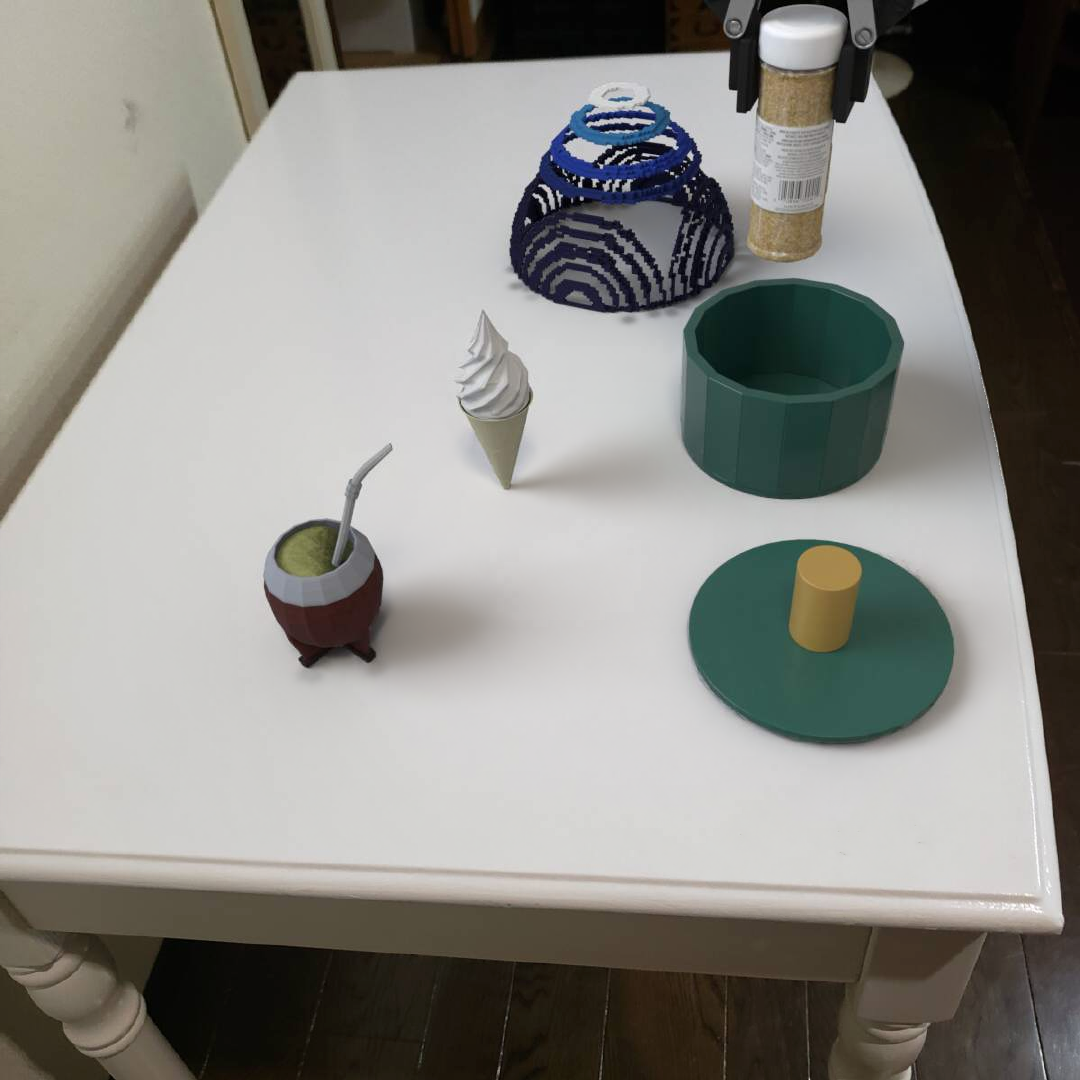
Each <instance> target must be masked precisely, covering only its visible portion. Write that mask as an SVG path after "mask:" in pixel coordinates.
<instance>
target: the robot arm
mask: <svg viewBox="0 0 1080 1080" xmlns="http://www.w3.org/2000/svg"><path fill="white" fill-rule="evenodd" d="M702 1H703V2H704V3H705V4H706V6H707V7H708V8H709V10H711V11H712V12H713V14H714V15H715V16H716V18H717V19H718V20H719V21H720V23H722V24H723V28H722V29H723V33H724V34H725V35H726V36H727V37H728V38H730V45H729V46H730V48H729V65H728V66H729V67H728V90H729V91H736V107H735V111H736V113H737V114H748V112H751V111H752V110H753V107H754V106H755V104H756V103H757V102H758V95H759V80H760V60H759V55H758V42H759V30H760V23H761V20H762V13H761V12H760V11H759V10H760V6H761V4H762V0H702ZM846 1H847V8H848V17H849V18H848V19H849V26H850V28H849V30H848V31H847V39H846V41H845V42H844V44H843V46H842V48H841V51H840V56H839V64H838V73H837V81H836V90H835V98H834V107H833V115H832V120H834V123H836V124H843V125H845V124H846V123H847V121H848V119H849V117H850V115H851V112H852V110H853V108H854V106H855V103H862V104H863V103H865V102H866V98H867V96H868V91H869V87H870V82H871V81H870V80H871V74H872V65H873V60H874V59H873V58H874V52H875V51H874V50H875V46H876V45H875V43H876V41H877V40H878V39H879V38H881V37H882V36H883V35H884V34H885V33H887V32H888V31H889V30H890V29H891V28H893V27H894V26H895V25H896V24H897V23H899V22H900V21H901V20H903V19H904V18H905V17H906V16H907V15H909V14H910V13H911V11H912V10H914V9H916V8H917V7H919V6H921V5H924V4H925V3H926V2H928V1H929V0H846Z"/></svg>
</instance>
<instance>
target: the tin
mask: <svg viewBox="0 0 1080 1080" xmlns="http://www.w3.org/2000/svg"><path fill="white" fill-rule="evenodd" d="M904 349H905V340H904V337H903V335H902V333H901V330H900V328H899V326H898V323H897V321H896V318H894V316H892V315H891V314H890V313H889V312H888V311H886V309H884V308H883V306H881V305H879V304H878V303H877V302H876V301H875V300H874V299H872V298H871V297H869V296H867V295H864V294H861V293H859V292H857V291H854V290H853V289H850V288H847V287H844V286H842V285H840V284H836V283H832V282H826V281H820V280H819V281H818V280H812V279H806V278H800V277H786V278H785V277H783V278H768V279H755V280H752V281H748V282H744V283H741V284H737V285H735V286H731V287H726V288H725V289H721V290H720V291H718V292H717V293H715V294H714V295H712V296H711V297H709V298H708V299H706V300H705V301H703V302H702V303H700V304H698V306H696V307H695V308H694V309H693V311H692V313H691V315H690V317H689V318H688V320H687V322H686V324H685V325H684V327H683V330H682V355H681V356H682V357H681V359H682V360H681V393H680V425H681V437H682V442H683V446H684V447H685V450H686V452H687V454H688V456H689V457H690V458H691V460H692V461H693V462H694V463H695V465H697V467H698V468H699V469H700V470H701V471H702V472H704V474H706V475H708V476H709V477H710V478H712V479H714V480H715V481H717V482H719V483H721V484H723V485H725V486H727V487H729V488H731V489H733V490H737V491H739V492H742V493H745V494H748V495H753V496H757V497H763V498H770V499H779V500H800V499H808V498H809V499H812V498H817V497H822V496H825V495H830V494H832V493H837V492H838V491H842V490H843V489H846V488H849V487H850V486H852V485H854V484H855V483H857V482H859V481H860V480H861V479H862V478H864V477H866V476H867V475H868V473H870V472H871V471H872V470H873V468H874V467H875V465H876V464H877V462H878V461H879V459H880V458H881V455H882V454H883V453H882V452H883V449H884V444H885V441H886V438H887V434H888V430H889V424H890V419H891V415H892V409H893V404H894V399H895V393H896V390H897V389H896V388H897V383H898V379H899V374H900V369H901V368H900V367H901V363H902V357H903V355H904V354H903V353H904Z"/></svg>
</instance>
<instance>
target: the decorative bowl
mask: <svg viewBox="0 0 1080 1080" xmlns="http://www.w3.org/2000/svg"><path fill="white" fill-rule="evenodd" d="M617 91H621V92H629V93H633V97H630V96H621V97H617V98H615V97H610V98H605V96H606V95H607V94H608V93H612V92H617ZM651 95H652V94H651V91H650V88H649V87H648V86H646V85H640V83H634V82H627V81H621V82H615V81H611V82H607V83H602V85H600V86H596V87H595V88H594V89H593V90H592V91H591V93H589V94H588V99H587V103H588V104H584V106H582V107H581V108H580V109H579V110H575V111H574V112H573V113H572V114H571V115H570V119H569V123H568V124H567V125H565V127H564V128H563V129H562V130H561V131H560V132H559V133H558V134H557V135H556V136H555V137H554V138H553V139H552V140H551V142H550V146H549V149H548V150H547V151H546V152H545V153H544V154H542V156H541V157H540V161H539V166H538V171H537V173H536V174H535V177H534V178H533V179H532V180H531V181H530V182H529V183H528V185H527V186H526V187H524V192H523V196H522V197H521V198H520V201H519V202H518V203H517V207H516V211H515V212H514V216H513V220H512V224H511V234H510V238H509V245H510V247H509V248H508V249H509V250H508V251H509V257H510V265H511V266H512V268H513V273H515V274H517V279H518V280H521V281H522V282H523V284H524V286H525V287H528V289H529V290H530V291H533V292H534V294H538V295H541V297H544V298H545V299H546V300H550V301H552V303H554V304H560V305H564V306H569V307H575V308H580V309H585V310H588V311H589V310H590V311H593V312H599V313H605V312H609V313H613V314H614V313H616V312H617V313H618V312H619V311H621V312H622V311H623V312H627V313H632V312H637V313H638V312H639V311H640V310H646V311H650V310H654V309H658V308H665V307H666V306H667V305H668V306H673V305H674V304H675V303H676V304H678V303H679V302H681V303H682V302H683V301H684V302H686V301H687V300H688V298H689V297H692V298H695V297H696V296H697V295H701V294H702V292H703V291H704V289H708V288H712V286H713V285H714V284H717V283H718V282H719V280H720V279H721V277H722V276H723V274H724V273H725V271H726V269H728V266H729V265H730V263H731V262H732V260H733V258H734V257H735V249H736V248H735V239H734V238H735V234H734V230H735V226H734V222H732V221H733V214H731V212H730V207H729V206H728V204H729V202H728V200H727V199H726V197H725V194H724V192H723V191H722V190H723V187H722V186H720V182H719V181H718V182H717V180H716V178H715V177H712V176H709V175H707V174H706V173H705V172H704V170H702V168H701V167H700V166H701V164H702V162H703V154H702V153H701V150H698V145H697V142H695V138H694V137H691V136H690V133H689V132H686V128H684V127H682V126H681V125H679V124H678V123H677V122H676V121H673V120H672V119H671V111H669V109H666V107H665V106H664V105H661V104H659V103H654V102H653V101H649V100H650V99H651ZM636 107H643V108H649V110H651V111H650V112H647V111H642V109H638V110H635V108H636ZM595 109H599V110H606V112H605V111H601V112H597V113H593V114H589V115H588V114H587V113H592V112H593V111H594V110H595ZM607 111H608V112H607ZM587 115H588V116H587ZM614 119H617V120H620V119H627V120H633V119H638V120H646V121H652V122H651V123H650V124H648V123H647V124H646V123H639V122H636V123H635V124H631V123H629V122H622V121H621V122H614V123H610V122H609V123H607V124H606V123H604V124H599V125H594V124H591V125H589V126H588V124H589V123H595V122H596V123H597V122H600V121H601V120H603V121H605V120H606V121H610V120H614ZM616 131H619V132H616ZM625 131H629V132H625ZM606 132H608V133H606ZM660 136H665V138H670V139H673V141H674V140H675V141H676V143H675V147H677V148H676V149H675V148H674V146H670V145H666V143H661V142H655V141H650V140H651V139H655V138H656V137H660ZM575 139H576V140H578V139H581V140H585V141H586V142H587V143H592V144H594V145H598V146H604V147H607V146H611V148H609V147H608V148H606V149H605V150H604V152H602V153H601V154H599V155H598V156H597V159H594V160H593V161H592V162H591V161H586V160H585V159H582V158H578V157H577V156H573V155H572V153H571V152H570V150H567V147H566V146H565V145H567V144H568V143H569V142H570V141H571V142H573V141H574V140H575ZM623 151H624V152H623ZM616 152H621V153H618V154H617V155H616ZM690 153H691V154H692V160H691V158H690V157H689V156H688V155H689V154H690ZM643 154H646V155H643ZM647 155H649V156H647ZM629 157H631V158H629ZM608 159H611V160H610V161H608V163H607V164H606V161H607V160H608ZM634 162H635V163H634ZM601 166H602V168H601ZM671 173H673V174H671ZM574 177H575V178H574ZM581 177H582V179H581ZM693 178H694V179H693ZM594 180H597V181H595V185H594ZM617 180H619V181H618V186H615V188H613V187H614V185H615V184H616V181H617ZM628 180H630V182H629V190H628V191H627V190H624V191H623V187H624V186H625V185H626V184H628ZM609 181H611V182H609ZM607 182H609V183H608V189H607V190H605V187H604V185H607ZM579 183H581V186H579ZM543 186H546V187H547V188H549V191H551V195H552V198H553V201H554V208H552V205H551V204H550V198H549V193H548V191H547V190H546V189H545V188H544V187H543ZM685 186H686V187H685ZM687 189H689V192H687ZM557 191H558V194H557ZM689 194H690V195H691V196H690V197H691V199H690V200H689ZM535 195H536V196H539V197H540V198H541V199H542V202H541V201H540V198H539V197H536V196H535ZM559 195H560V199H559ZM669 196H670V197H669ZM581 198H583V199H581ZM559 200H560V201H559ZM646 201H647V202H649V201H650V202H653V201H656V202H662V203H668V204H671V206H675V207H676V206H677V207H682V209H681V210H680V215H681V216H682V217H681V218H682V219H681V220H680V224H679V226H678V230H677V235H676V239H675V241H674V244H673V249H672V253H671V257H672V258H674V259H670V266H669V269H668V272H667V278H668V279H669V280H670V288H669V292H670V300H669V299H668V298H667V297H668V291H667V290H666V289H664V280H665V276H663V275H662V270H661V269H659V264H658V263H655V262H656V257H653V254H651V253H650V251H649V250H647V247H644V244H643V243H641V240H638V237H637V236H636V231H635V232H634V231H633V228H628V229H624V223H623V224H622V223H621V220H616V219H614V220H613V221H612V220H606V219H605V216H600V215H594V214H588V213H583V212H577V211H573V213H568V211H565V210H567V209H571V208H572V207H578V206H582V205H583V204H586V205H588V204H592V203H593V202H599V203H600V202H601V204H603V205H610V206H615V205H623V204H626V205H631V206H636V204H637V203H641V202H646ZM543 203H544V204H545V211H546V212H543V211H544V210H543ZM692 212H693V213H692ZM553 215H554V216H553ZM702 217H703V218H702ZM527 219H528V220H529V221H530V222H527V224H526V220H527ZM567 219H568V220H571V221H572V222H576V223H581V224H587V225H594V226H598V229H600V230H606V231H610V232H611V231H612V230H616V235H617V236H619V239H624V240H625V243H630V242H631V246H632V247H634V253H638V254H640V257H643V263H645V264H646V266H647V267H649V270H653V271H652V279H654V280H655V285H658V294H661V295H662V299H658V300H655V301H651V292H652V289H653V287H652V281H651V282H650V280H649V279H650V277H649V276H648V275H647V273H646V272H644V271H643V270H644V269H643V268H644V267H643V266H641V263H640V262H638V260H637V259H635V256H634V255H635V254H634V253H631V252H627V253H625V252H626V251H625V250H626V249H625V248H626V247H625V246H624V245H619V242H618V241H617V240H618V238H617V237H616V236H615V235H614V233H610V232H603V233H600V232H595V231H590V230H584V229H577V228H572V227H570V225H565V224H560V221H566V220H567ZM697 220H698V222H696V221H697ZM559 224H560V225H559ZM686 224H689V225H688V227H687V231H686V233H683V230H684V229H685V225H686ZM557 225H559V226H557ZM702 225H703V226H702ZM549 226H551V228H550V227H549ZM701 226H702V228H701V230H700V232H699V236H698V240H697V241H696V246H695V249H694V251H693V254H692V253H690V251H691V248H692V247H691V246H692V245H693V240H694V237H695V235H696V232H697V230H698V227H701ZM546 227H549V228H548V230H547V232H548V233H547V234H545V235H544V236H540V237H539V238H537V237H538V236H539V235H541V233H543V231H545V230H546ZM552 227H554V228H552ZM713 227H715V228H716V229H717V231H716V233H715V235H714V239H713V241H712V245H711V246H710V249H709V252H708V256H707V253H705V252H704V250H706V249H705V247H706V245H707V241H708V239H709V235H710V234H711V230H712V228H713ZM565 236H568V238H572V239H578V240H583V241H589V242H593V243H599V242H604V243H603V247H605V248H606V250H607V251H611V252H612V253H613V255H617V256H618V257H619V258H620V259H621V261H622V262H625V263H624V265H626V266H630V269H631V271H630V273H631V275H634V276H636V278H637V279H636V280H637V282H639V285H640V286H639V287H640V288H639V290H640V291H642V295H643V297H642V298H643V300H644V299H645V304H643V303H641V304H640V302H639V301H637V293H636V292H634V287H633V286H631V281H630V280H628V277H625V274H624V273H622V270H619V267H617V266H616V264H617V259H614V256H613V255H611V252H606V251H605V248H600V247H595V246H588V247H585V246H580V245H579V244H578V243H572V242H569V241H568V242H567V241H562V240H564V239H565ZM722 236H724V244H723V246H721V248H720V250H719V254H718V256H717V259H716V266H715V268H714V269H715V271H714V274H713V275H712V276H711V278H710V272H711V270H712V269H711V268H712V264H713V257H714V256H715V252H716V248H717V246H718V242H719V241H720V239H721V238H722ZM536 238H537V239H536ZM557 239H562V240H560V241H559V242H558V243H556V245H554V246H553V249H550V250H549V251H547V252H546V253H545V254H544V256H542V257H541V258H539V259H538V260H537V261H536V262H535V263H534V266H533V270H532V271H530V275H529V268H531V264H532V263H533V262H534V261H535V260H536V257H537V256H538V252H539V251H541V250H545V249H546V245H549V246H550V245H551V243H553V242H554V241H555V240H557ZM685 239H687V242H684V241H685ZM534 240H535V241H534ZM531 245H532V247H531V248H529V247H530V246H531ZM528 248H529V249H528ZM527 250H528V253H526V252H527ZM683 252H684V255H681V254H682V253H683ZM706 257H707V260H704V259H706ZM619 258H618V259H619ZM562 259H566V260H571V261H575V260H576V259H580V260H585V263H586V264H581V263H575V262H570V261H565V262H564V263H563V264H562V265H556V267H554V268H553V269H552V270H551V271H549V272H548V273H547V274H546V275H545V278H544V272H545V271H546V269H548V268H549V267H551V265H554V263H556V264H557V263H559V261H561V260H562ZM689 259H692V262H691V269H690V275H687V273H686V271H687V268H688V262H689ZM724 261H725V262H724ZM587 264H592V265H597V266H600V269H602V270H603V272H604V273H609V277H612V279H613V280H615V282H616V283H617V284H618V291H619V292H621V295H623V296H624V304H627V305H626V306H624V305H620V293H617V287H615V286H614V284H613V283H611V280H608V277H607V276H605V274H604V273H599V270H597V269H593V266H591V265H587ZM675 264H678V267H677V272H674V267H675ZM567 270H569V271H574V272H580V273H584V274H590V277H592V278H596V281H598V282H599V284H600V285H605V291H607V292H608V297H611V305H609V304H606V302H603V296H600V291H599V290H597V287H596V286H591V283H589V282H583V281H579V280H575V279H568V278H563V279H562V280H560V282H558V283H557V284H555V286H554V292H553V293H552V292H551V291H552V285H551V283H553V281H556V278H557V277H556V276H558V277H560V276H561V275H562V274H564V272H566V271H567ZM703 273H704V276H703ZM677 275H678V276H680V277H679V284H682V294H681V293H680V294H679V295H676V277H677ZM543 278H544V279H543ZM703 278H704V279H703ZM542 279H543V281H542ZM702 279H703V284H699V280H702ZM688 288H689V289H690V291H689V292H688ZM574 291H575V292H580V293H583V294H582V295H583V296H585V297H586V299H587V300H589V303H591V304H587V303H581V302H577V301H571V300H568V299H567V297H568V296H570V295H571V294H572V293H573V292H574ZM550 292H551V293H550Z"/></svg>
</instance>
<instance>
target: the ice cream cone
mask: <svg viewBox="0 0 1080 1080" xmlns="http://www.w3.org/2000/svg"><path fill="white" fill-rule="evenodd" d="M469 343H470V344H469V346H468V347H467V348H466V351H467V352H468V353H469V354H470V355H471V356H472V357H471V358H469V359H466V360H465V361H463V362H460V363H459V364H458V365H457V368H458V369H462V370H464V373H463V374H462V375H460V376H456V377H454V378H453V382H455V383H456V384H460V385H462V386H463V388H462V390H461V391H459V392H457V393H455V398H456V399H457V404H458V407H459V409H460V410H461V412H462V413H463V414H464V415H465V416H466V418H467V421H468V422H469V425H470V427H471V429H472V431H473V433H474V434H475V436H476V438H477V441H478V442H479V445H481V448H482V450H483V452H484V454H485V456H486V458H487V460H488V462H489V464H490V465H491V467H492V469H493V471H494V473H495V475H496V478H497V479H498V481H499V483H500V484H501V487H502V488H503V489H504V490H508V489H510V488H511V484H512V479H513V474H514V470H515V466H516V463H517V459H518V455H519V451H520V447H521V442H522V438H523V435H524V431H525V425H526V422H527V417H528V413H529V409H530V406H531V405H532V403H533V400H534V391H533V388H532V387H531V386H530V383H529V370H528V368H527V367H526V365H525V364H524V363H523V361H522V359H521V358H520V356H519V355H517V354H516V353H514V352H512V351H510V350H509V342H508V341H507V340H506V339H505V338H504V337H503V336H502V335H501V334H500V333H499V332H498V331H497V329H496V327H495V326H494V324H493V323H492V321H491V320H490V317H488V314H487V312H486V311H485V309H481V313H480V316H479V319H478V322H477V324H476V328H475V330H474V333H473V335H472V337H471V339H470V341H469Z"/></svg>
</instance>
